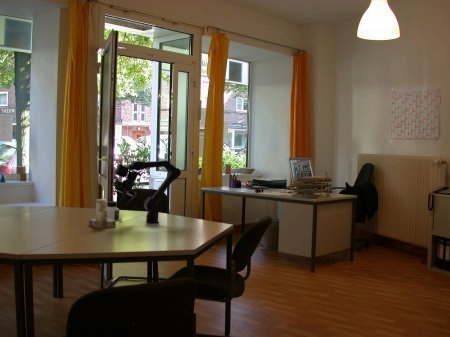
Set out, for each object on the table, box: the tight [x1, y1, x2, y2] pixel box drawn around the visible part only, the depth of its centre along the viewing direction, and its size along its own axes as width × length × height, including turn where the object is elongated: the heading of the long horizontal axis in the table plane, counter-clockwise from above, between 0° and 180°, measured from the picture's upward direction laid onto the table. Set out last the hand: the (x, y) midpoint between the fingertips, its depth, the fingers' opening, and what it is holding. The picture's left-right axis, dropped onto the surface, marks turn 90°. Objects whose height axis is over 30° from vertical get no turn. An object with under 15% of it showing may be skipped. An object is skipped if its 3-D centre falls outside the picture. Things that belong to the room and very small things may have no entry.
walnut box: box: [88, 218, 117, 230], centre depth 282 cm, size 12×12×4 cm
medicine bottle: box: [107, 200, 120, 222], centre depth 303 cm, size 7×7×12 cm
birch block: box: [95, 198, 108, 221], centre depth 281 cm, size 5×5×12 cm
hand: (120, 204), depth 290 cm, fingers open, 9 cm apart
